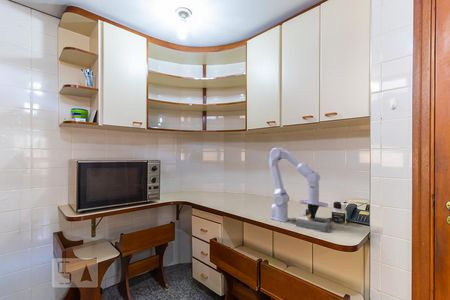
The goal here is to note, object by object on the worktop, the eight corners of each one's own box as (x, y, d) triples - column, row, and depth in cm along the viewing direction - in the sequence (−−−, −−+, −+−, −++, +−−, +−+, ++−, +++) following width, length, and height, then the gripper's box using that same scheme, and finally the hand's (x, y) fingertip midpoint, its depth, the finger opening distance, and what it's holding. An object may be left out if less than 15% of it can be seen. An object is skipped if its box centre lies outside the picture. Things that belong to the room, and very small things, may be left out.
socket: (296, 226, 124) (296, 218, 124) (303, 220, 133) (303, 214, 133) (325, 232, 115) (325, 224, 115) (330, 226, 124) (330, 219, 124)
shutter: (296, 219, 126) (296, 214, 126) (300, 216, 132) (300, 211, 132) (309, 221, 122) (309, 216, 122) (313, 218, 128) (313, 213, 128)
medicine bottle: (331, 223, 129) (331, 202, 129) (333, 220, 135) (333, 200, 135) (345, 225, 125) (345, 204, 126) (346, 222, 131) (346, 202, 131)
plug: (305, 220, 135) (305, 208, 135) (307, 218, 138) (307, 206, 138) (312, 221, 132) (312, 209, 132) (314, 219, 135) (314, 207, 135)
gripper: (329, 194, 123) (328, 219, 123) (302, 191, 132) (302, 214, 132) (325, 196, 117) (325, 222, 117) (298, 193, 126) (298, 217, 126)
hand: (313, 218), depth 124 cm, fingers closed
